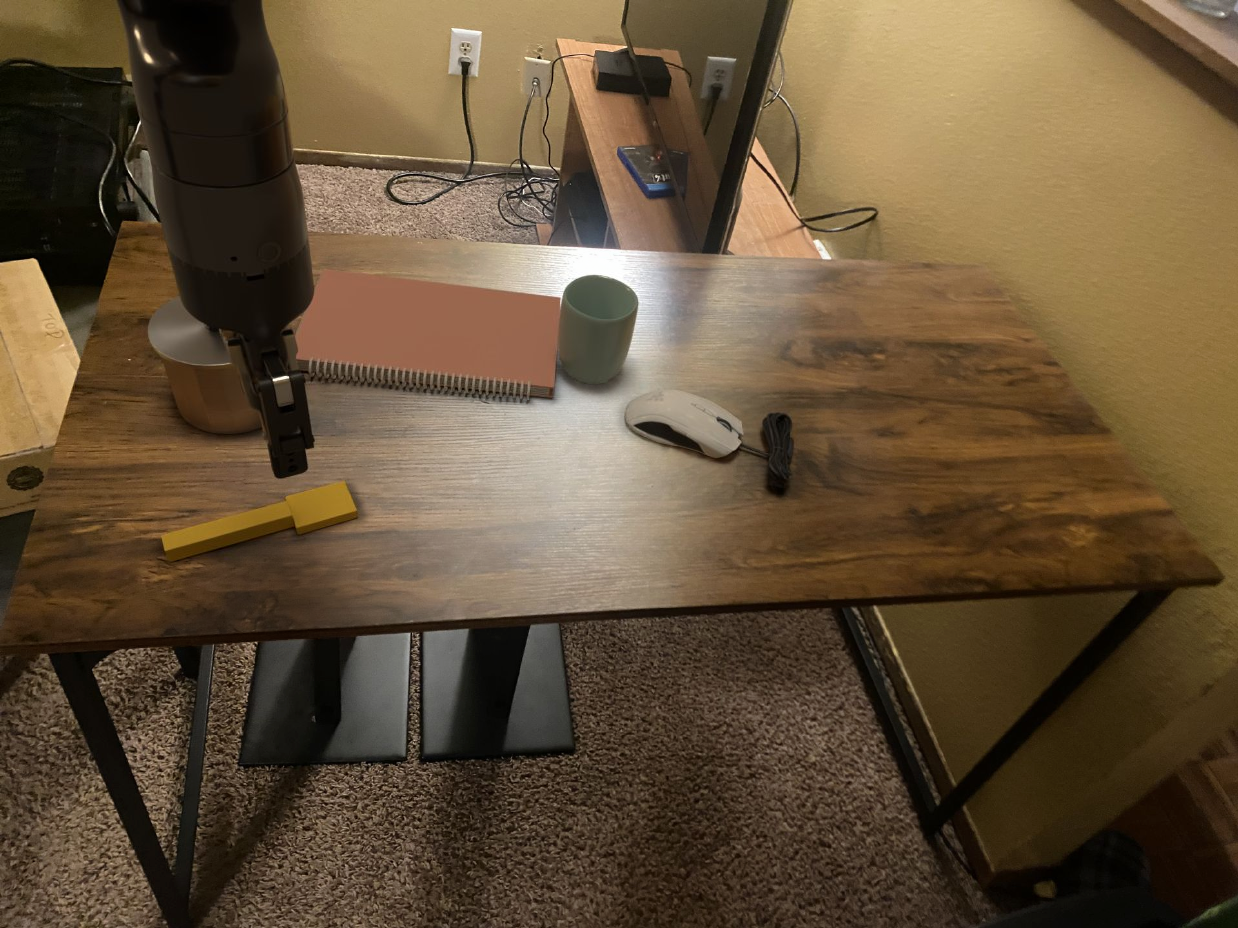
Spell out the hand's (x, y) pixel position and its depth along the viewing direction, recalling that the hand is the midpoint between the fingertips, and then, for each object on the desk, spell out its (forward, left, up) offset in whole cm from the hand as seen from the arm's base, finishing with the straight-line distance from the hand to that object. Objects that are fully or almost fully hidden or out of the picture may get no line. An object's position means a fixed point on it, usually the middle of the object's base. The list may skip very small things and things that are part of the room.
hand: (274, 430), depth 59 cm
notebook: (+20, +24, -16) cm, 35 cm away
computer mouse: (+41, 0, -16) cm, 44 cm away
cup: (+35, +14, -16) cm, 40 cm away
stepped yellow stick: (-2, +5, -16) cm, 17 cm away
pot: (-1, +22, -16) cm, 27 cm away
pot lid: (-1, +22, -7) cm, 23 cm away
